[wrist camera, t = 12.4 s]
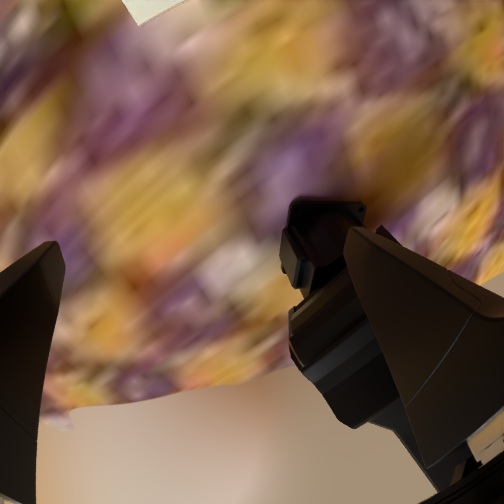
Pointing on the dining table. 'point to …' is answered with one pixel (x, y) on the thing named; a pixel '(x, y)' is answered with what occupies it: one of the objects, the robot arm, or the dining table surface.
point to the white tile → (149, 8)
